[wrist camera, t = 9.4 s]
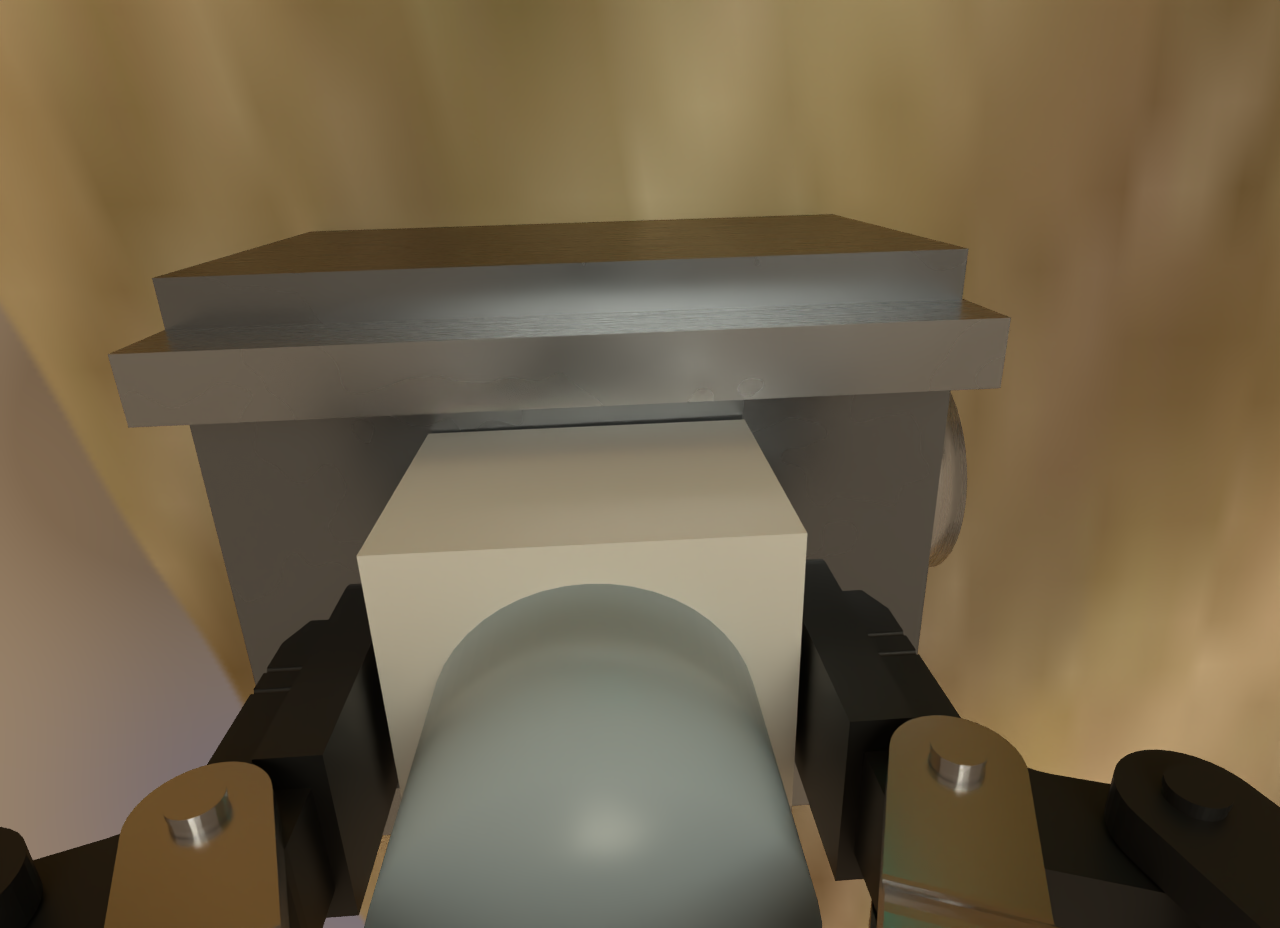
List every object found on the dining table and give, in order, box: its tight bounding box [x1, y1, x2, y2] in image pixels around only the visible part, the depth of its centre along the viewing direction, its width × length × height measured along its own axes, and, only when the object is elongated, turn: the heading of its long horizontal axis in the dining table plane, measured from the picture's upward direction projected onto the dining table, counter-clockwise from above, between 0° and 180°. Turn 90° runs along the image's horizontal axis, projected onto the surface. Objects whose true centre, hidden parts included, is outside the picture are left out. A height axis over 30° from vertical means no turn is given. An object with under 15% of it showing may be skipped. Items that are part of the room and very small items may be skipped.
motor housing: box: [108, 214, 1011, 835], centre depth 16 cm, size 13×10×8 cm
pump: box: [356, 419, 822, 928], centre depth 10 cm, size 5×5×7 cm
